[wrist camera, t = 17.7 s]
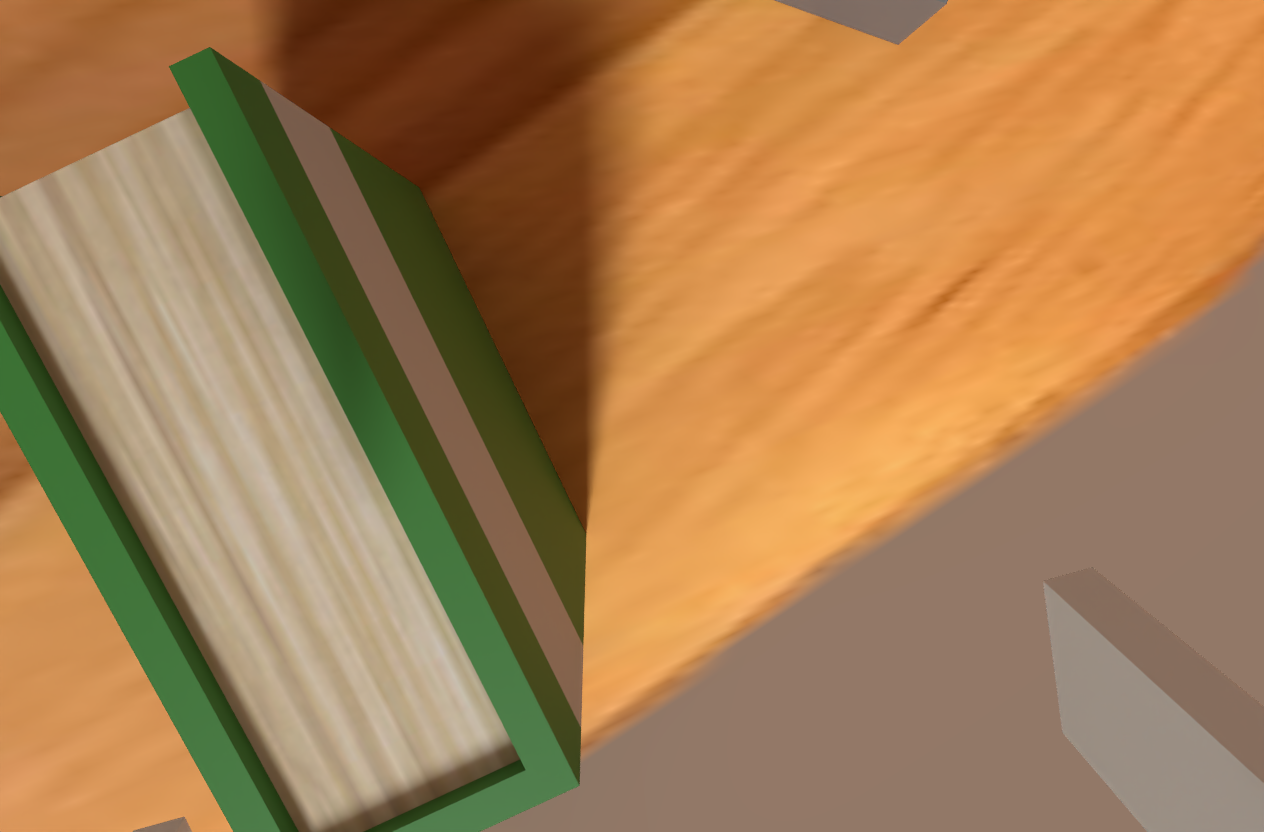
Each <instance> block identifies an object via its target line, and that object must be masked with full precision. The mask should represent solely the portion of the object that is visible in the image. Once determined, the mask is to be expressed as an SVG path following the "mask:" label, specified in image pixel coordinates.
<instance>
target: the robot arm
mask: <svg viewBox="0 0 1264 832" xmlns="http://www.w3.org/2000/svg"><path fill="white" fill-rule="evenodd" d="M1043 584H1044V592H1045V600H1046V608H1047V616H1048V623H1049V631H1050V639H1051V647H1052V654H1053V662H1054V670H1055V678H1056V684H1057V693H1058V700H1059V709H1060V716H1061V724H1062V732H1063V733H1064V735H1065V736H1066V737H1067V738H1068V739H1069V740H1070V742H1071V743H1072V744H1073V745H1074V746H1075V748H1076V749H1077V750H1078V751H1079V752H1080V754H1081V755H1082V756H1083V757H1084V758H1085V759H1086V761H1087V762H1088V763H1089V764H1090V765H1091V766H1092V767H1093V769H1094V770H1095V771H1096V772H1097V773H1098V775H1099V776H1100V777H1101V778H1102V779H1103V780H1104V781H1105V783H1106V784H1107V785H1108V786H1109V787H1110V788H1111V790H1112V791H1113V792H1114V793H1115V794H1116V796H1117V797H1118V798H1119V799H1120V800H1121V802H1123V804H1124V805H1125V806H1126V807H1127V809H1128V810H1129V811H1130V812H1131V813H1132V814H1133V816H1134V817H1135V818H1136V819H1137V820H1138V821H1139V823H1140V824H1141V825H1142V826H1143V827H1144V828H1145V829H1146V831H1147V832H1264V706H1263V705H1261V704H1260V703H1259V702H1258V701H1257V700H1255V699H1254V698H1253V697H1251V696H1250V695H1249V694H1248V693H1247V692H1245V691H1244V690H1243V689H1242V688H1241V687H1239V686H1238V685H1237V684H1236V683H1234V682H1233V681H1232V680H1231V679H1229V678H1228V677H1227V676H1226V675H1224V674H1223V673H1222V672H1221V671H1219V670H1218V669H1217V668H1216V667H1215V666H1213V665H1212V664H1211V663H1210V662H1208V661H1207V660H1206V659H1205V658H1204V657H1202V656H1201V655H1199V653H1197V652H1196V651H1195V650H1194V649H1192V648H1191V647H1190V646H1189V645H1187V644H1186V643H1185V642H1184V641H1182V640H1181V639H1180V638H1179V637H1178V636H1176V635H1175V634H1174V633H1173V632H1171V631H1170V630H1169V629H1168V628H1167V627H1165V626H1164V625H1163V624H1162V623H1160V622H1159V621H1158V620H1157V619H1155V618H1154V617H1153V616H1152V615H1151V614H1149V613H1148V612H1147V611H1145V610H1144V609H1143V608H1142V607H1141V606H1139V605H1138V604H1137V603H1136V602H1135V601H1133V600H1132V599H1131V598H1130V597H1128V596H1127V595H1126V594H1125V593H1123V592H1122V591H1121V590H1120V589H1119V588H1117V587H1116V586H1115V585H1113V584H1112V583H1111V582H1110V581H1109V580H1107V579H1106V578H1105V577H1104V576H1102V575H1101V574H1100V573H1098V571H1096V570H1095V569H1094V568H1093V567H1092V568H1088V569H1084V570H1081V571H1077V572H1073V573H1070V574H1066V575H1062V576H1059V577H1055V578H1051V579H1048V580H1044V581H1043ZM133 832H192V831H191V829H190V827H189V825H188V823H187V821H186V819H185V817H182V818H178V819H174V820H171V821H167V822H163V823H160V824H156V825H152V826H149V827H145V828H142V829H138V830H134V831H133Z"/></svg>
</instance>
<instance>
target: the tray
mask: <svg viewBox="0 0 1264 832" xmlns="http://www.w3.org/2000/svg"><path fill="white" fill-rule="evenodd" d="M775 1H778V2H781V3H784V4H786V5H789V6H792V7H795V8H798V9H800V10H803V11H806V12H809V13H811V14H814V15H817V16H820V17H823V18H825V19H828V20H831V21H834V22H836V23H839V24H842V25H845V26H848V27H850V28H853V29H856V30H859V31H862V32H864V33H867V34H870V35H873V36H875V37H878V38H881V39H884V40H887V41H889V42H892V43H895V44H900V43H901V42H902V41H903V40H904V39H906V38H907V37H908V36H909V35H910V34H911V33H913V32H914V31H915V30H916V29H917V28H919V27H920V26H921V25H922V24H923V23H924V22H926V21H927V20H928V19H929V18H930V17H932V16H933V15H934V14H935V13H936V12H937V11H939V10H940V9H941V8H942V7H943V6H944V5H946V4H947V1H948V0H775Z"/></svg>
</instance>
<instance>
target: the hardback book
mask: <svg viewBox="0 0 1264 832" xmlns="http://www.w3.org/2000/svg"><path fill="white" fill-rule="evenodd" d="M169 68H170V70H171V72H172V73H173V75H174V77H175V79H176V81H177V83H178V85H179V87H180V89H181V91H182V93H183V95H184V97H185V99H186V101H187V103H188V105H189V107H190V108H189V109H187V110H185V111H182V112H180V113H178V114H176V115H174V116H172V117H170V118H168V119H166V120H163V121H161V122H159V123H157V124H155V125H153V126H151V127H149V128H146V129H144V130H142V131H140V132H138V133H136V134H134V135H132V136H130V137H127V138H125V139H123V140H121V141H119V142H117V143H115V144H113V145H110V146H108V147H106V148H104V149H102V150H100V151H98V152H96V153H94V154H91V155H89V156H87V157H85V158H83V159H81V160H79V161H77V162H75V163H72V164H70V165H68V166H66V167H64V168H62V169H60V170H58V171H55V172H53V173H51V174H49V175H47V176H45V177H43V178H41V179H39V180H36V181H34V182H32V183H30V184H28V185H26V186H24V187H22V188H19V189H17V190H15V191H13V192H11V193H9V194H7V195H5V196H0V412H1V414H2V415H3V417H4V419H5V421H6V423H7V424H8V426H9V428H10V430H11V432H12V433H13V435H14V437H15V439H16V441H17V442H18V444H19V446H20V448H21V450H22V451H23V453H24V455H25V457H26V459H27V460H28V462H29V464H30V466H31V468H32V469H33V471H34V473H35V475H36V477H37V479H38V480H39V482H40V484H41V486H42V488H43V489H44V491H45V493H46V495H47V497H48V498H49V500H50V502H51V504H52V506H53V507H54V509H55V511H56V513H57V515H58V516H59V518H60V520H61V522H62V524H63V525H64V527H65V529H66V531H67V533H68V534H69V536H70V538H71V540H72V542H73V543H74V545H75V547H76V549H77V551H78V552H79V554H80V556H81V558H82V560H83V561H84V563H85V565H86V567H87V569H88V570H89V572H90V574H91V576H92V578H93V579H94V581H95V583H96V585H97V587H98V588H99V590H100V592H101V594H102V596H103V597H104V599H105V601H106V603H107V605H108V606H109V608H110V610H111V612H112V614H113V615H114V617H115V619H116V621H117V623H118V624H119V626H120V628H121V630H122V632H123V633H124V635H125V637H126V639H127V641H128V642H129V644H130V646H131V648H132V650H133V651H134V653H135V655H136V657H137V659H138V660H139V662H140V664H141V666H142V668H143V669H144V671H145V673H146V675H147V677H148V678H149V680H150V682H151V684H152V686H153V687H154V689H155V691H156V693H157V695H158V696H159V698H160V700H161V702H162V704H163V706H164V707H165V709H166V711H167V713H168V715H169V716H170V718H171V720H172V722H173V724H174V725H175V727H176V729H177V731H178V733H179V734H180V736H181V738H182V740H183V742H184V743H185V745H186V747H187V749H188V751H189V752H190V754H191V756H192V758H193V760H194V761H195V763H196V765H197V767H198V769H199V770H200V772H201V774H202V776H203V778H204V779H205V781H206V783H207V785H208V787H209V788H210V790H211V792H212V794H213V796H214V797H215V799H216V801H217V803H218V805H219V806H220V808H221V810H222V812H223V814H224V815H225V817H226V819H227V821H228V823H229V824H230V826H231V828H232V830H233V832H480V831H482V830H484V829H487V828H489V827H491V826H493V825H495V824H497V823H500V822H502V821H504V820H506V819H508V818H510V817H513V816H515V815H517V814H519V813H521V812H523V811H525V810H528V809H530V808H532V807H534V806H537V805H539V804H541V803H543V802H545V801H547V800H549V799H552V798H554V797H556V796H558V795H560V794H562V793H565V792H567V791H569V790H571V789H573V788H576V787H578V786H579V784H580V783H579V782H580V748H581V711H582V674H583V637H584V601H585V564H586V533H585V531H584V529H583V526H582V524H581V522H580V520H579V518H578V516H577V514H576V512H575V510H574V508H573V506H572V504H571V502H570V499H569V497H568V495H567V493H566V491H565V489H564V487H563V485H562V483H561V481H560V479H559V477H558V475H557V472H556V470H555V468H554V466H553V464H552V462H551V460H550V458H549V456H548V454H547V452H546V450H545V448H544V445H543V443H542V441H541V439H540V437H539V435H538V433H537V431H536V429H535V427H534V425H533V423H532V421H531V418H530V416H529V414H528V412H527V410H526V408H525V406H524V404H523V402H522V400H521V398H520V396H519V394H518V391H517V389H516V387H515V385H514V383H513V381H512V379H511V377H510V375H509V373H508V371H507V369H506V367H505V365H504V362H503V360H502V358H501V356H500V354H499V352H498V350H497V348H496V346H495V344H494V342H493V340H492V338H491V335H490V333H489V331H488V329H487V327H486V325H485V323H484V321H483V319H482V317H481V315H480V313H479V311H478V308H477V306H476V304H475V302H474V300H473V298H472V296H471V294H470V292H469V290H468V288H467V286H466V284H465V281H464V279H463V277H462V275H461V273H460V271H459V269H458V267H457V265H456V263H455V261H454V259H453V257H452V254H451V252H450V250H449V248H448V246H447V244H446V242H445V240H444V238H443V236H442V234H441V232H440V230H439V227H438V225H437V223H436V221H435V219H434V217H433V215H432V213H431V211H430V209H429V207H428V205H427V203H426V200H425V198H424V196H423V194H422V192H421V190H420V188H419V187H418V186H416V185H415V184H413V183H412V182H410V181H409V180H407V179H406V178H404V177H403V176H401V175H400V174H398V173H397V172H395V171H394V170H392V169H391V168H389V167H388V166H386V165H385V164H383V163H382V162H380V161H379V160H377V159H376V158H374V157H373V156H371V155H370V154H368V153H367V152H365V151H364V150H362V149H361V148H359V147H358V146H357V145H355V144H354V143H352V142H351V141H349V140H348V139H346V138H345V137H343V136H342V135H340V134H339V133H337V132H336V131H334V130H333V129H331V128H330V127H328V126H327V125H325V124H324V123H322V122H321V121H319V120H318V119H316V118H315V117H313V116H312V115H310V114H309V113H307V112H306V111H304V110H303V109H301V108H300V107H298V106H297V105H295V104H294V103H292V102H291V101H289V100H288V99H286V98H285V97H283V96H282V95H281V94H279V93H278V92H276V91H275V90H273V89H272V88H270V87H269V86H267V85H266V84H264V83H263V82H261V81H260V80H258V79H257V78H255V77H254V76H252V75H251V74H249V73H248V72H246V71H245V70H243V69H242V68H240V67H239V66H237V65H236V64H234V63H233V62H231V61H230V60H228V59H227V58H225V57H224V56H222V55H221V54H219V53H218V52H216V51H215V50H213V49H212V48H210V47H209V48H207V49H205V50H203V51H201V52H198V53H196V54H194V55H192V56H190V57H188V58H186V59H184V60H181V61H179V62H177V63H175V64H173V65H171V66H169Z"/></svg>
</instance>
